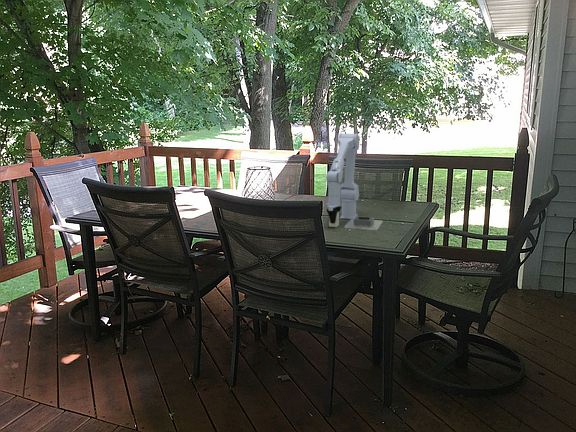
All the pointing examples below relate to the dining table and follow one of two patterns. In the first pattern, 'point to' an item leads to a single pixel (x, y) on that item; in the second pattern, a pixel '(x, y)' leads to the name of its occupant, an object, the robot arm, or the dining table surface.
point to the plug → (335, 221)
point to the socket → (364, 223)
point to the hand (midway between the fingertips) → (334, 222)
